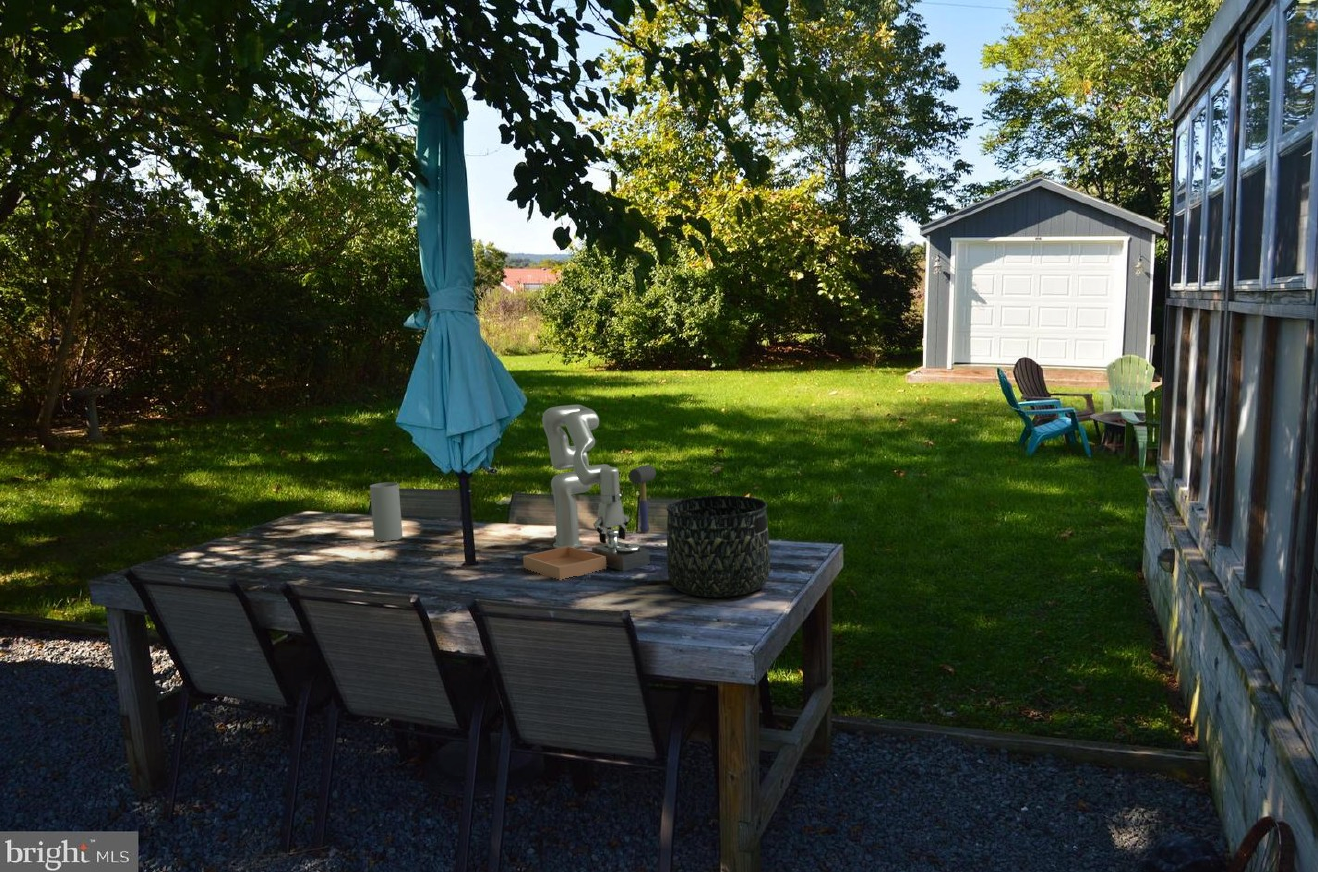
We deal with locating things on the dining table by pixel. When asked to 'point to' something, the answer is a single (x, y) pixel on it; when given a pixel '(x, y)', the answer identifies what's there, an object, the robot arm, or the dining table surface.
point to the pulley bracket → (623, 556)
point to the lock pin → (612, 538)
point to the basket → (718, 545)
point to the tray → (564, 562)
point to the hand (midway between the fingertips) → (612, 540)
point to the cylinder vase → (386, 511)
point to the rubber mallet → (643, 490)
